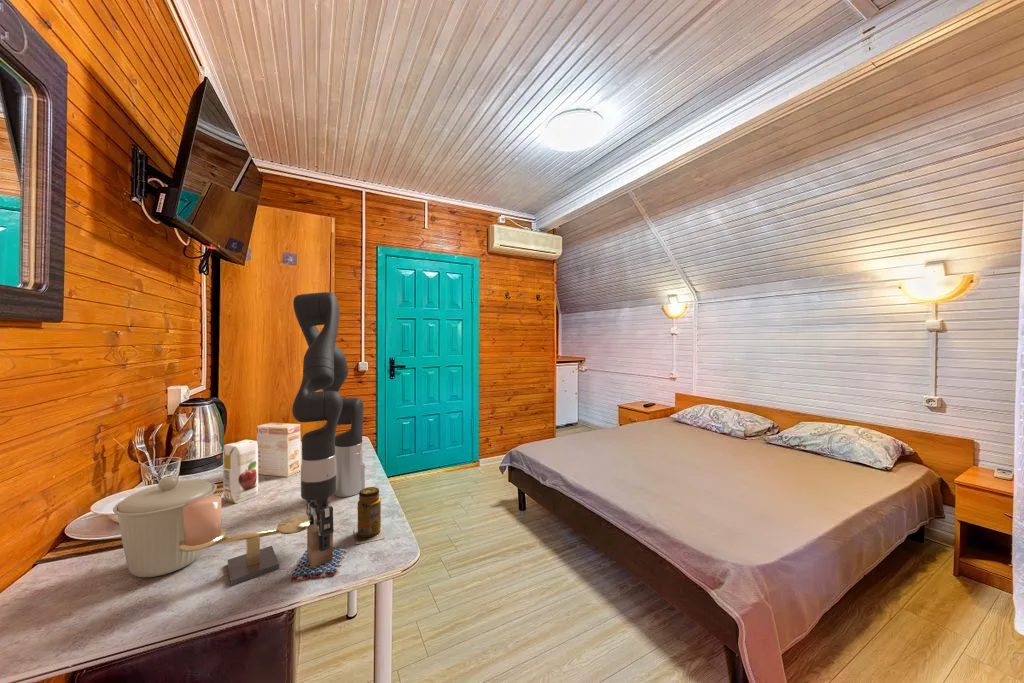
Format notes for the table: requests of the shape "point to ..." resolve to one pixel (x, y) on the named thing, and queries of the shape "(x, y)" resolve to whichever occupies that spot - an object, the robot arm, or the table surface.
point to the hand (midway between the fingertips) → (319, 542)
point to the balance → (253, 550)
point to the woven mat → (330, 567)
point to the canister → (158, 526)
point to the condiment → (369, 516)
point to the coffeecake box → (279, 449)
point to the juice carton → (240, 471)
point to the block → (317, 547)
